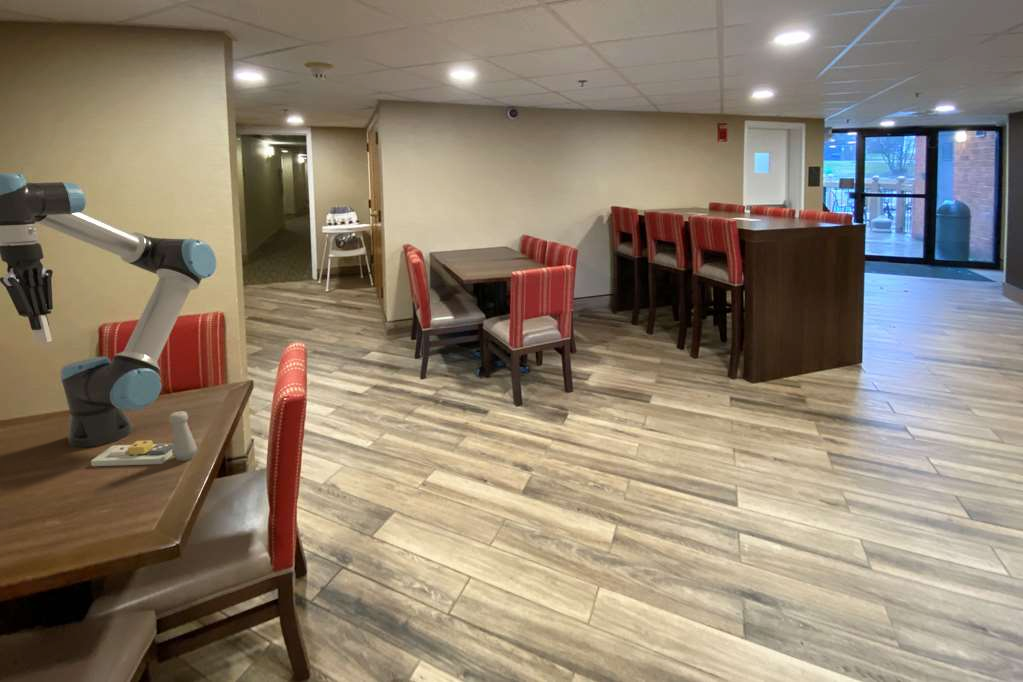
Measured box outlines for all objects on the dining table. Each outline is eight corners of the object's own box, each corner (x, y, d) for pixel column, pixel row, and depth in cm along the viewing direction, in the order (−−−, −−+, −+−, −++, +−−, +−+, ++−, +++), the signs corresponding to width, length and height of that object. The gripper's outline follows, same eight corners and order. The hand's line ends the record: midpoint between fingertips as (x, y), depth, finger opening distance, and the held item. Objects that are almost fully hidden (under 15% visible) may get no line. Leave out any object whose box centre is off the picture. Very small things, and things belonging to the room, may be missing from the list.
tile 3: (149, 457, 150) (148, 450, 149) (158, 451, 154) (156, 443, 153) (165, 457, 150) (163, 450, 149) (173, 450, 154) (171, 443, 153)
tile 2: (129, 454, 149) (128, 447, 149) (138, 447, 153) (137, 440, 152) (145, 453, 149) (143, 446, 149) (153, 447, 153) (152, 439, 153)
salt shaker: (187, 464, 147) (178, 418, 144) (168, 462, 148) (159, 416, 145) (203, 453, 153) (195, 409, 149) (184, 452, 154) (176, 408, 150)
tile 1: (111, 459, 149) (109, 451, 149) (120, 452, 153) (119, 445, 153) (126, 458, 149) (125, 451, 149) (135, 451, 153) (134, 444, 153)
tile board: (91, 466, 147) (90, 461, 147) (113, 450, 156) (112, 445, 155) (162, 463, 148) (161, 458, 147) (180, 448, 156) (179, 443, 156)
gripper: (13, 246, 123) (39, 349, 130) (56, 240, 136) (78, 334, 142) (-23, 246, 123) (5, 349, 130) (24, 240, 136) (48, 335, 142)
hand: (44, 341), depth 136 cm, fingers closed
